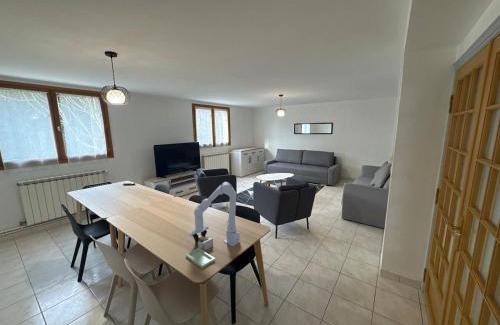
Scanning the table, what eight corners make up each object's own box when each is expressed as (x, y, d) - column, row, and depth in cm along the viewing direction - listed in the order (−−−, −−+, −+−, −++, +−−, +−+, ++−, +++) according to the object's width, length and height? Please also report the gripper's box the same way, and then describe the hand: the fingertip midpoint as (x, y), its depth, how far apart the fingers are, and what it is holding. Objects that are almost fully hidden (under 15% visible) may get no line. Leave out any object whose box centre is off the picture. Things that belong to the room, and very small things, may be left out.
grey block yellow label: (208, 245, 140) (207, 238, 139) (202, 248, 136) (202, 240, 135) (200, 240, 146) (200, 233, 145) (195, 243, 142) (194, 236, 141)
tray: (215, 260, 123) (214, 258, 123) (202, 268, 116) (201, 266, 116) (198, 250, 134) (198, 247, 134) (186, 256, 127) (185, 254, 127)
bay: (212, 246, 139) (212, 238, 138) (203, 251, 133) (203, 243, 132) (207, 243, 143) (207, 235, 142) (198, 247, 137) (197, 239, 136)
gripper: (204, 218, 148) (204, 235, 150) (186, 225, 137) (187, 243, 139) (210, 221, 143) (210, 239, 146) (192, 228, 133) (193, 247, 135)
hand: (199, 241), depth 142 cm, fingers closed on grey block yellow label, 5 cm apart
